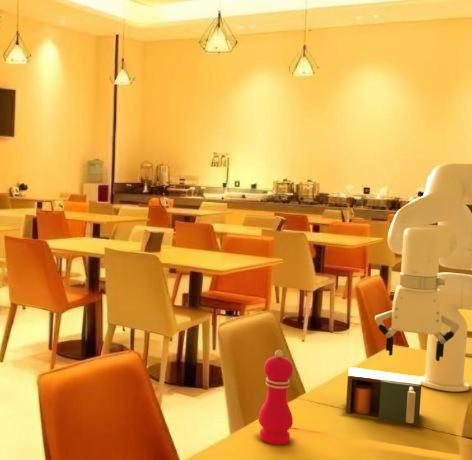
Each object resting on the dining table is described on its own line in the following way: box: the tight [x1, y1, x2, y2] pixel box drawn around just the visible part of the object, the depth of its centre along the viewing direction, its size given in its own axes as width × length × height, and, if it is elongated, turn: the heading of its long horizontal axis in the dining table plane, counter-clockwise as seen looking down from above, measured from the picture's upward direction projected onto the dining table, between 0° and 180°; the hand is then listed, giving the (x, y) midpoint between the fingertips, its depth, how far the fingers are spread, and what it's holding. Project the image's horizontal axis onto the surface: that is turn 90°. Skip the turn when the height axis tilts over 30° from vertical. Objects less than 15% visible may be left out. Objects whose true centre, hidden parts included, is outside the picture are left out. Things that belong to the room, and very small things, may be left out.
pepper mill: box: [257, 349, 294, 445], centre depth 165 cm, size 7×7×20 cm
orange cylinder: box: [353, 385, 372, 414], centre depth 184 cm, size 4×4×6 cm
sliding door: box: [378, 380, 420, 426], centre depth 175 cm, size 7×8×10 cm
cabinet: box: [345, 367, 423, 424], centre depth 183 cm, size 8×16×10 cm, turn 65°
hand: (413, 356), depth 172 cm, fingers open, 9 cm apart
